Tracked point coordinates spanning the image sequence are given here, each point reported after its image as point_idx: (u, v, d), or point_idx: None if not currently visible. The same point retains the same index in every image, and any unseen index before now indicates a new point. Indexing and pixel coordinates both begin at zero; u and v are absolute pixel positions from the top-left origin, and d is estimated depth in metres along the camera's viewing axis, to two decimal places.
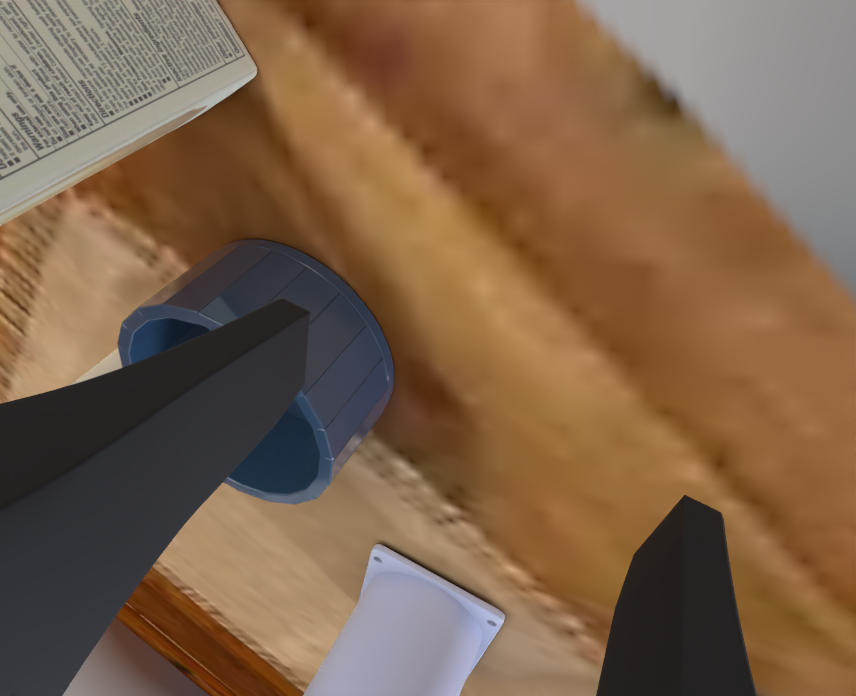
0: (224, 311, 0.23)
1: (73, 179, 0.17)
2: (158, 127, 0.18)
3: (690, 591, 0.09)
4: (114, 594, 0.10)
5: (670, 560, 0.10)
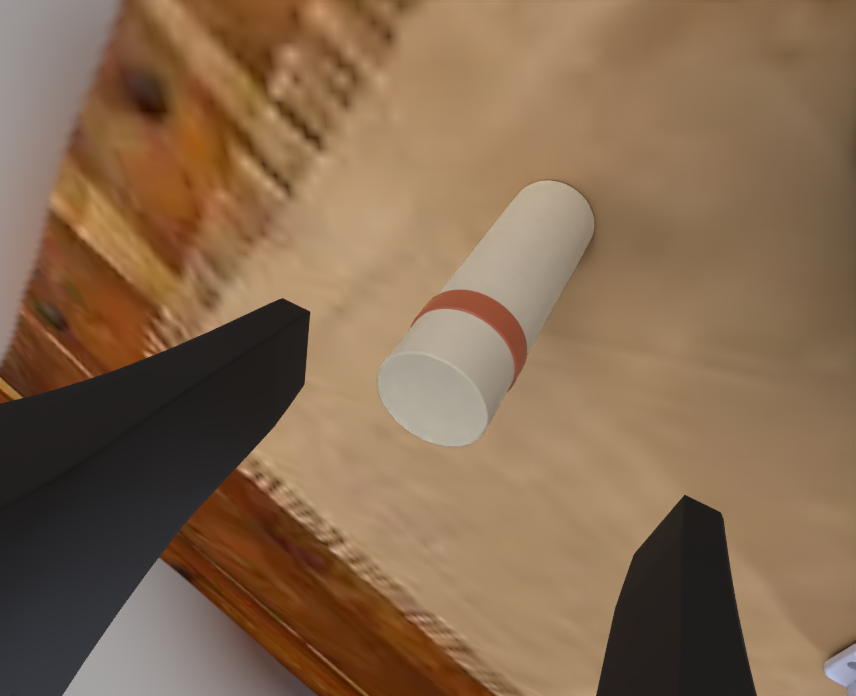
0: None
1: None
2: None
3: (690, 591, 0.09)
4: (114, 594, 0.10)
5: (669, 560, 0.10)
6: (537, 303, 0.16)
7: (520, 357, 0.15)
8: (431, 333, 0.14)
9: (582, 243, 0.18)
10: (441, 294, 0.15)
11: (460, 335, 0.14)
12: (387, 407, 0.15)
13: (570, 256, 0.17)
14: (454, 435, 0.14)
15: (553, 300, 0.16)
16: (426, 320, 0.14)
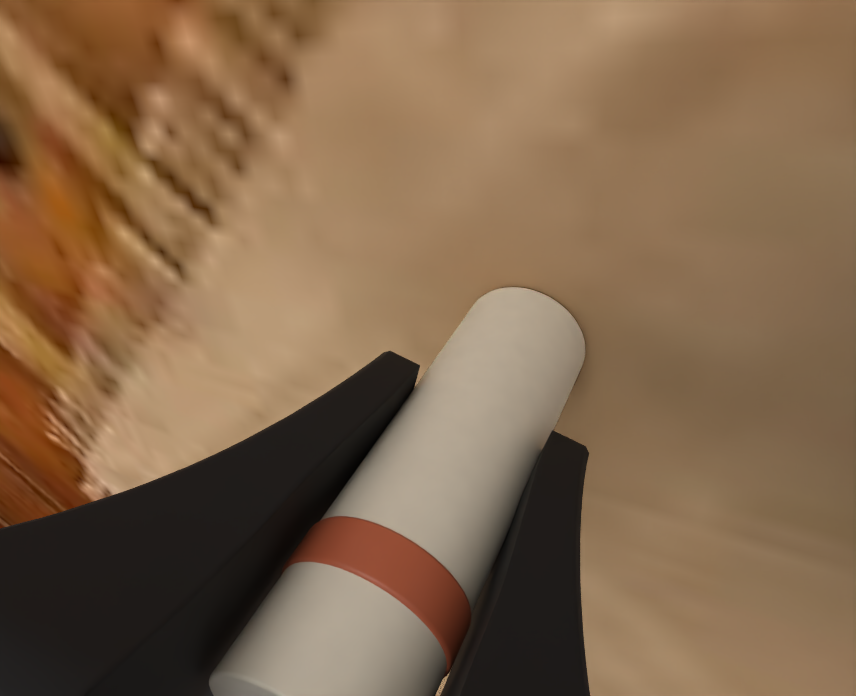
0: None
1: None
2: None
3: (533, 510, 0.09)
4: None
5: (527, 488, 0.10)
6: (491, 523, 0.10)
7: (457, 639, 0.09)
8: (293, 630, 0.08)
9: (567, 387, 0.12)
10: (329, 522, 0.09)
11: (343, 638, 0.08)
12: None
13: (548, 417, 0.12)
14: None
15: (519, 499, 0.11)
16: (294, 587, 0.08)
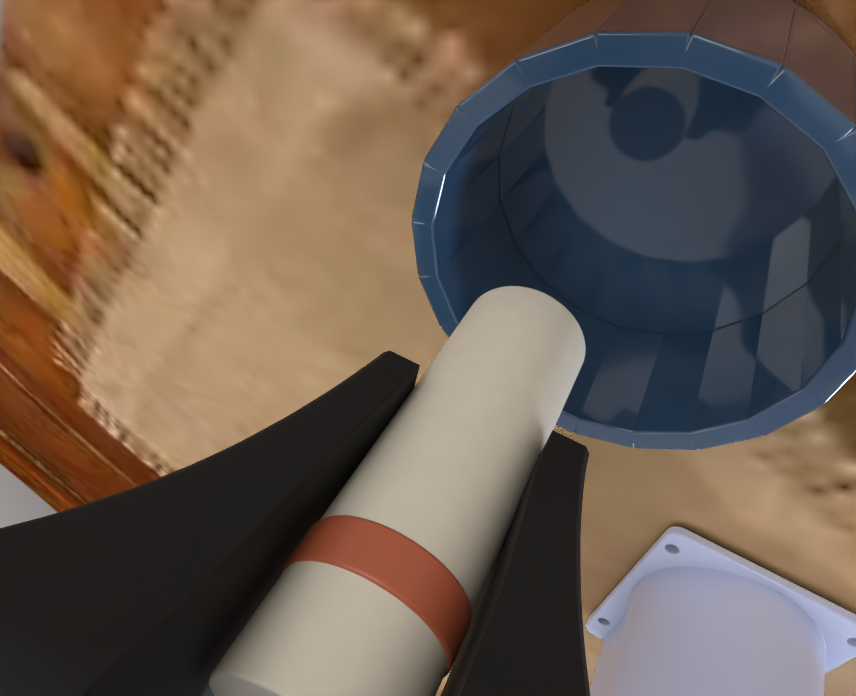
0: (735, 38, 0.11)
1: None
2: None
3: (533, 510, 0.09)
4: None
5: (528, 487, 0.10)
6: (491, 522, 0.10)
7: (457, 638, 0.09)
8: (293, 629, 0.08)
9: (567, 386, 0.12)
10: (330, 521, 0.09)
11: (343, 637, 0.08)
12: None
13: (548, 416, 0.12)
14: None
15: (520, 498, 0.11)
16: (293, 587, 0.08)
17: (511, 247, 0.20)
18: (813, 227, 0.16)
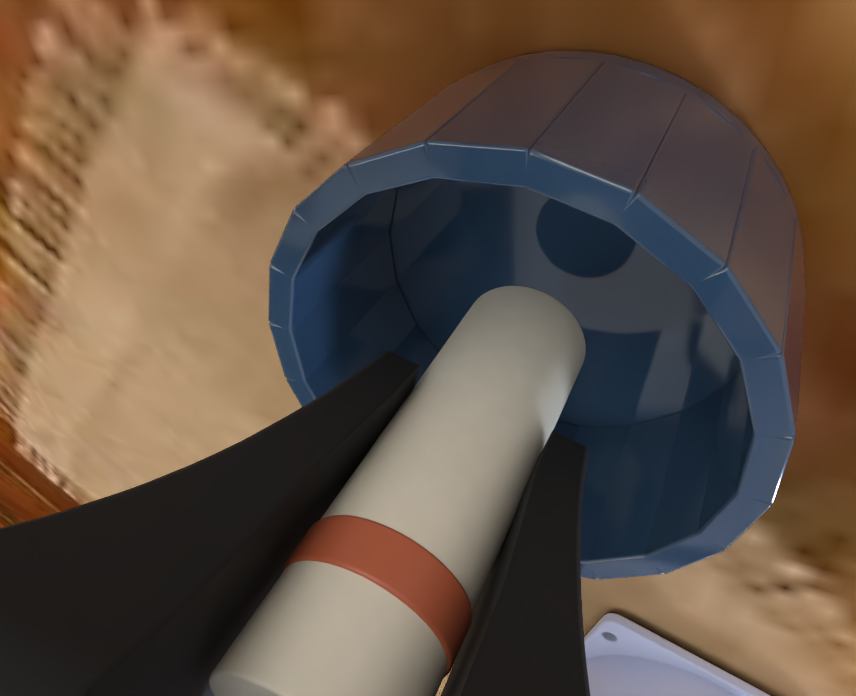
0: (585, 151, 0.09)
1: None
2: None
3: (534, 510, 0.09)
4: None
5: (528, 488, 0.10)
6: (492, 522, 0.10)
7: (457, 638, 0.09)
8: (294, 629, 0.08)
9: (567, 386, 0.12)
10: (330, 521, 0.09)
11: (343, 636, 0.08)
12: None
13: (548, 415, 0.11)
14: None
15: (520, 498, 0.11)
16: (293, 587, 0.08)
17: (411, 329, 0.18)
18: None
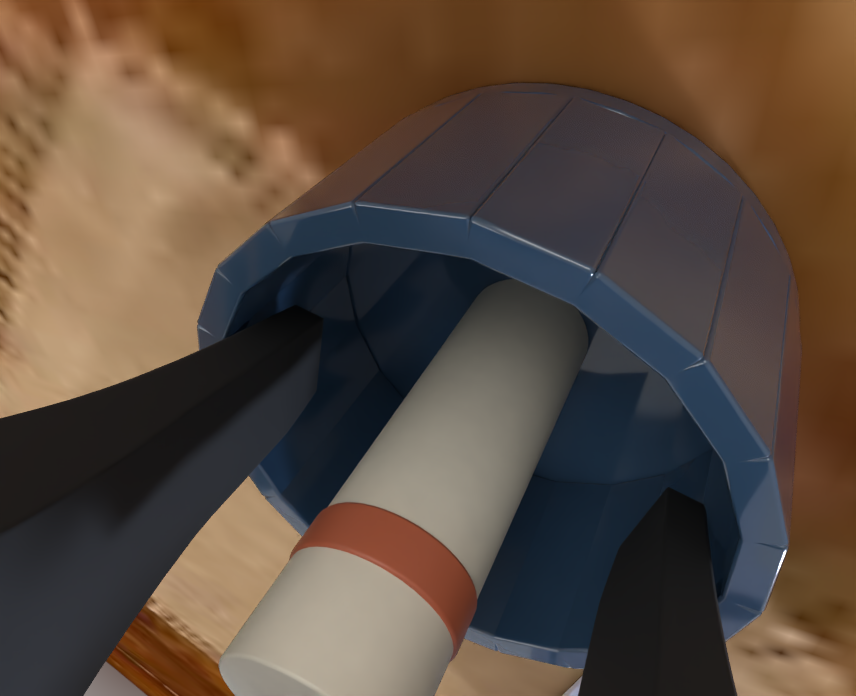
0: (539, 217, 0.08)
1: None
2: None
3: (670, 581, 0.09)
4: (129, 603, 0.10)
5: (651, 551, 0.10)
6: (496, 509, 0.10)
7: (463, 623, 0.09)
8: (303, 612, 0.08)
9: (570, 377, 0.12)
10: (337, 508, 0.09)
11: (351, 619, 0.08)
12: None
13: (552, 406, 0.12)
14: None
15: (524, 487, 0.11)
16: (302, 572, 0.08)
17: (374, 375, 0.17)
18: None
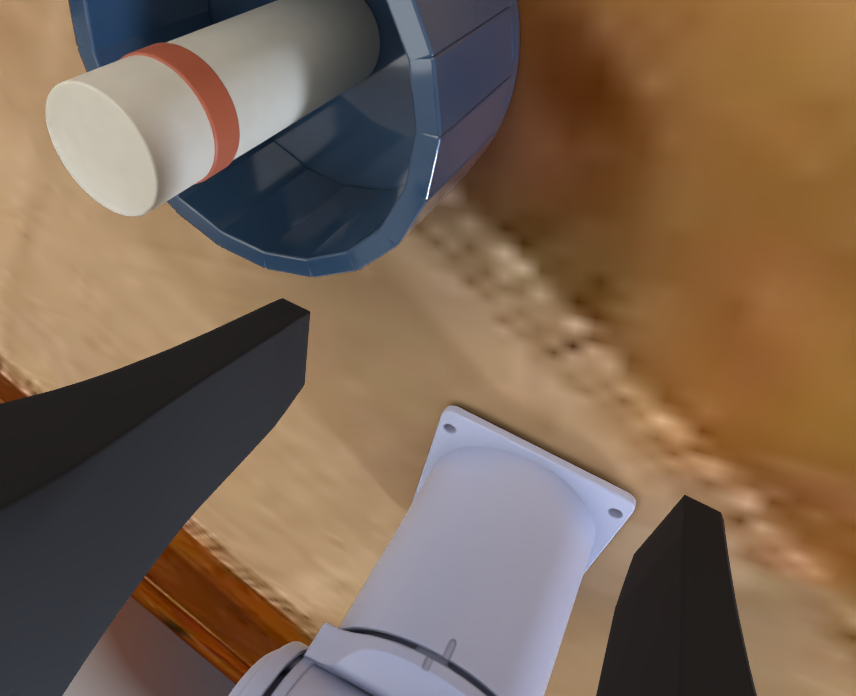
0: None
1: None
2: None
3: (690, 591, 0.09)
4: (114, 594, 0.10)
5: (670, 560, 0.10)
6: (260, 72, 0.14)
7: (220, 116, 0.13)
8: (96, 70, 0.12)
9: (354, 43, 0.17)
10: None
11: (126, 71, 0.12)
12: (70, 172, 0.13)
13: (329, 47, 0.16)
14: (135, 196, 0.13)
15: (295, 84, 0.15)
16: None
17: None
18: None
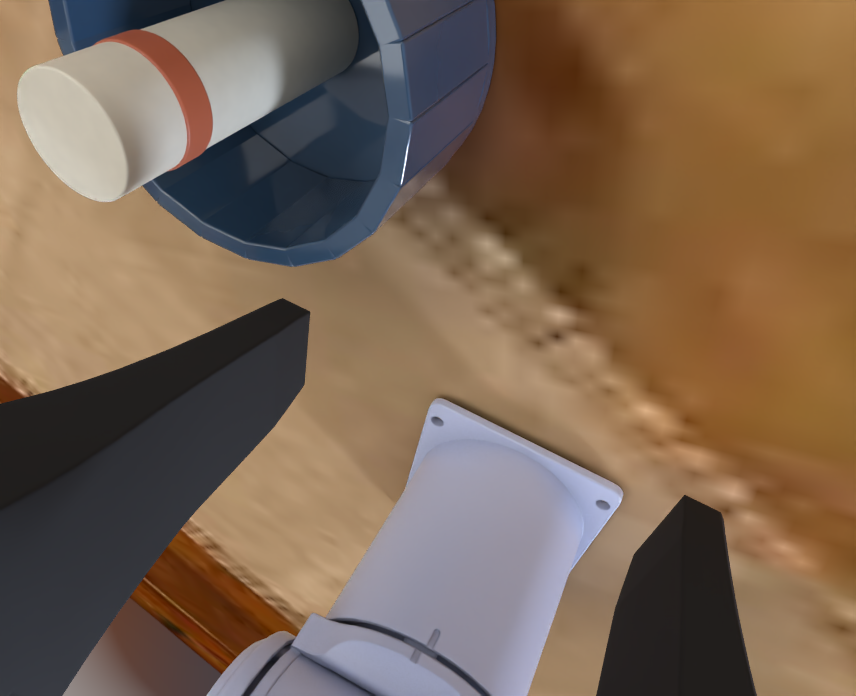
0: None
1: None
2: None
3: (690, 591, 0.09)
4: (114, 594, 0.10)
5: (670, 560, 0.10)
6: (233, 59, 0.14)
7: (191, 102, 0.13)
8: (66, 56, 0.12)
9: (331, 33, 0.17)
10: None
11: (96, 56, 0.12)
12: (43, 158, 0.13)
13: (305, 36, 0.16)
14: (107, 181, 0.13)
15: (270, 72, 0.15)
16: None
17: None
18: None
